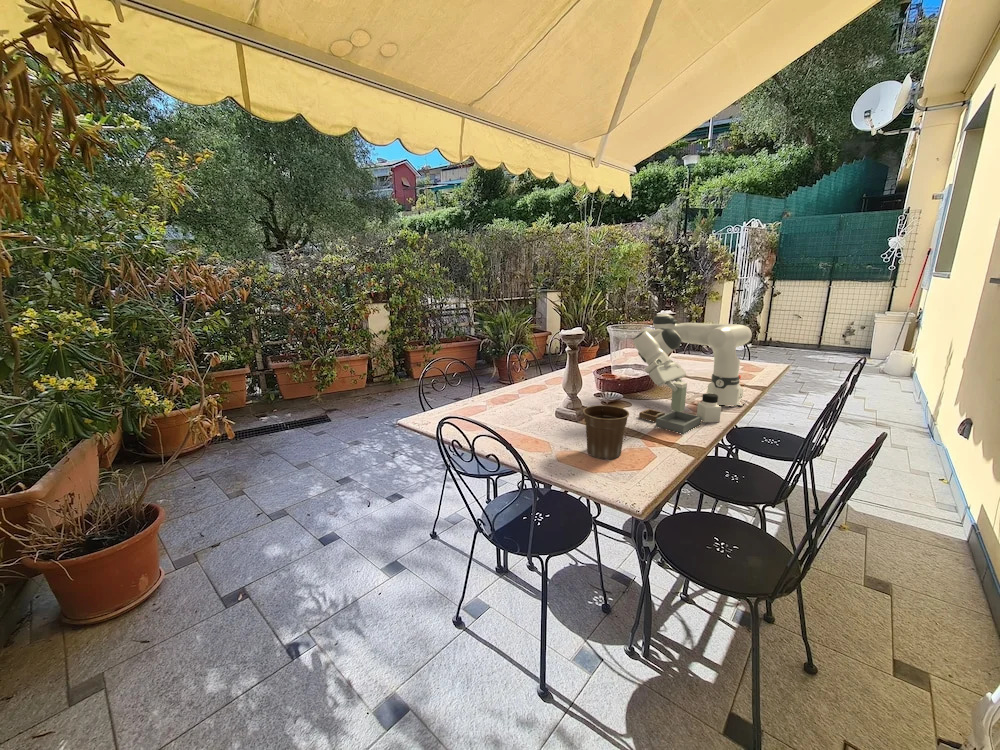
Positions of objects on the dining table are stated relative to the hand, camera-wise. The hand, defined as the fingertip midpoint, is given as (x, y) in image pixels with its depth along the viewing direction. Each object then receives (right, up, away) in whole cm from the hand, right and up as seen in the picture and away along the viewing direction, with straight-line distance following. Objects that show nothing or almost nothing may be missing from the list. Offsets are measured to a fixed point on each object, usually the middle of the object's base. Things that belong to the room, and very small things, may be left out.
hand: (679, 389), depth 174 cm
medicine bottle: (+17, -14, +11) cm, 25 cm away
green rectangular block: (0, -9, +2) cm, 9 cm away
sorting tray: (+1, -16, +4) cm, 16 cm away
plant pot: (-37, -23, -21) cm, 49 cm away
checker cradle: (-7, -13, +14) cm, 21 cm away
